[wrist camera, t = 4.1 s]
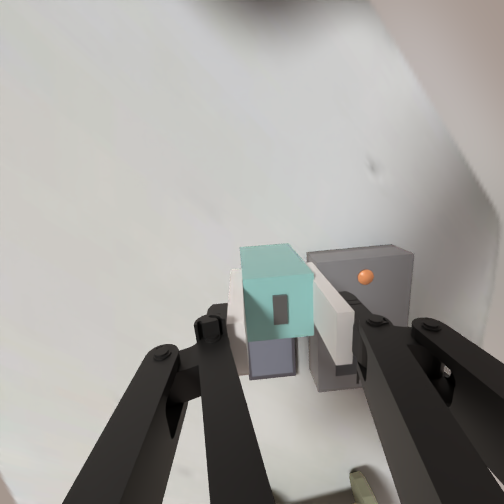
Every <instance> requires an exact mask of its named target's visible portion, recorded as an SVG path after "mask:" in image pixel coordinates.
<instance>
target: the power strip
mask: <svg viewBox="0 0 504 504" xmlns="http://www.w3.org/2000/svg"><path fill="white" fill-rule="evenodd" d="M413 261H414V253H411V252H409V251H406V250H404V249H401V248H399V247H396V246H394V245H380V246H369V247H358V248H347V249H336V250H325V251H315V252H307V262H312V263H313V264H314V265H315V266H316V267H317V268H318V270H319V271H320V272H321V273H322V274H323V275H324V277H325V278H326V279H327V280H328V281H329V282H330V283H331V285H332V286H333V287H334V288H335V289H336V290H337V292H341V291H347V292H349V293H351V294H353V295H355V296H356V297H357V298H358V300H360V301H361V302H362V304H363V305H364V306H365V307H366V308H367V309H368V310H369V311H370V312H371V313H372V314H376V315H380V316H383V317H385V318H387V319H389V320H390V321H391V322H392V324H393V325H394V326H401V327H407V325H408V314H409V304H410V293H411V282H412V272H413ZM309 369H310V371H311V374H312V377H313V379H314V382H315V384H316V387H317V390H318V392H326V391H335V390H344V389H353V388H363V386H362V383H361V380H359V384H356V375H357V359H356V357H355V356H354V354H353V360H352V364H346V365H336V364H335V362H334V360H333V358H332V357H331V355H330V353H329V351H328V349H327V347H326V345H325V343H324V341H323V339H322V337H321V335H320V333H319V331H318V330H317V328H316V326H315V324H314V335H313V336H309Z"/></svg>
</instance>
